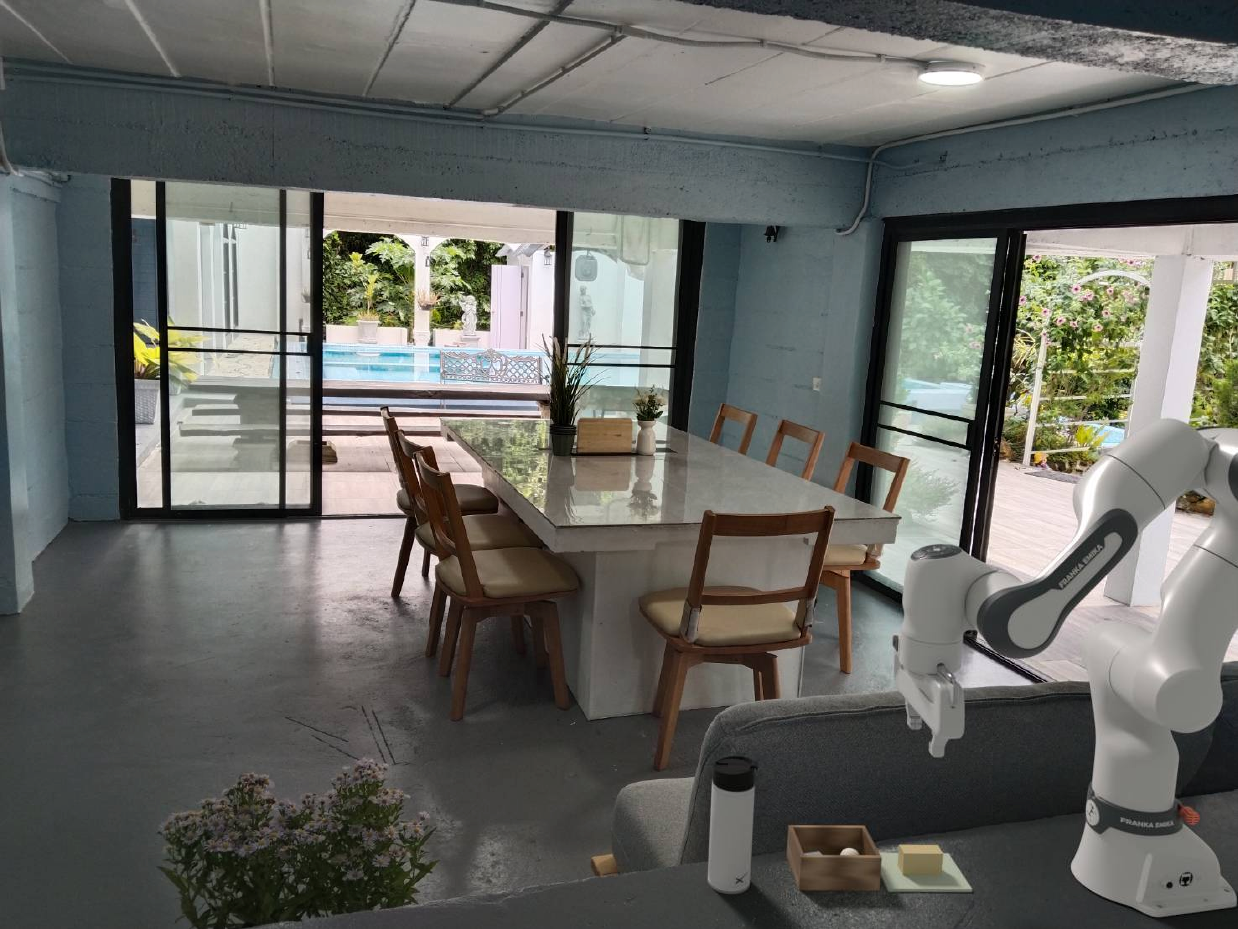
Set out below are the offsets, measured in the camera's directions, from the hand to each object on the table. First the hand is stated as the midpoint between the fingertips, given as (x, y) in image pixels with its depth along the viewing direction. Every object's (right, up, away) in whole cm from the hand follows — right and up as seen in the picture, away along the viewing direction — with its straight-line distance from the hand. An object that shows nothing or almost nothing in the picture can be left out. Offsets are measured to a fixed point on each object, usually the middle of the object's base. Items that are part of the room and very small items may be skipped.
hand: (924, 741), depth 147 cm
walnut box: (-14, -21, +2) cm, 25 cm away
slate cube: (-17, -21, +1) cm, 27 cm away
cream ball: (-11, -21, +3) cm, 23 cm away
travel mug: (-30, -22, -1) cm, 37 cm away
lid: (0, -21, +2) cm, 21 cm away
